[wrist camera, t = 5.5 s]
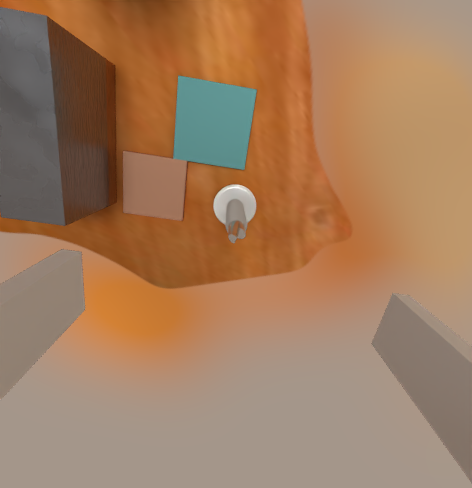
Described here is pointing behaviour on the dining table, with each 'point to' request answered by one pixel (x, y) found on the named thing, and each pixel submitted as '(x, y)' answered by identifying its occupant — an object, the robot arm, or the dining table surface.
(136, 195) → the terracotta pad
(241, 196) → the screw
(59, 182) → the grey unit
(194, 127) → the teal pad
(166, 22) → the dining table surface
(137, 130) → the dining table surface
